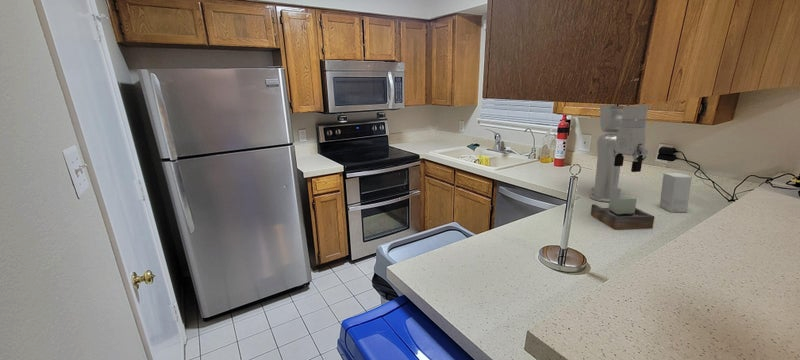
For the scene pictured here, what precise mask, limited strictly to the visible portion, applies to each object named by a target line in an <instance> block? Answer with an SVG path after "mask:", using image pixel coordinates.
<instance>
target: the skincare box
mask: <svg viewBox="0 0 800 360" xmlns="http://www.w3.org/2000/svg"><path fill="white" fill-rule="evenodd" d="M692 178H693V177H692V176H690V175H688V174H684V173H681V172H664V173H663V175H662V182H661V183H662V185H661V191H660V198H659V199H660V200H659V207H660V208H662V209H664V210H666V211H667V212H670V213H687V212H688V206H689V201H690V200H689V199H690V193H691V187H692V186H691V184H692Z"/></svg>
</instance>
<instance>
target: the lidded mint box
mask: <svg viewBox="0 0 800 360" xmlns="http://www.w3.org/2000/svg"><path fill="white" fill-rule="evenodd" d="M621 192H622V189H621V188H619V187H618V188H617V187H615V186H612V192H611V196H610V201H609V202H608V208H609V209H608V210H609V212H611V213H615V215H616V216H618V217H619V216H621V215H622V214H627V215H629V216H633V215H634V213H635V208H637V207H636V205H637V198H636V197H634V196H631V195H629V194H621Z"/></svg>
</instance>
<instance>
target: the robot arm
mask: <svg viewBox="0 0 800 360" xmlns="http://www.w3.org/2000/svg"><path fill="white" fill-rule="evenodd" d="M648 109H649V104H648V105H639V106H617V105H599V113H600V117H599V119H600V122H599V123H600V129H601V132H604V133H605V134H602V135H600V136H599V137H598V138H597V142H596V146H597V147H596V148H597V149H596V150H597V160H596V169H595V170H596V171H595V179H594V186H593V187H591V190H592V191H593V192H592V193H590V194H589V198H590V199H592V200H594V201H597V202H603V203H604V202H605V203H609V201H610V196H611V192H612V186H615V187H617V188H619V182H620V173H621V167H623V165H624V158H625V156H629V157H632V160H633V161H632V162H631V169H630V170H631V171H630V172H631V173H638V172H639V173H641V171H642V164H643V162H644V160H645V159H646V158H647V155H648V154H649V150H648V149H647V148H646V147H645V144H646V124H647V116H648Z"/></svg>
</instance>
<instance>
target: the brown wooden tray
mask: <svg viewBox="0 0 800 360" xmlns="http://www.w3.org/2000/svg"><path fill="white" fill-rule="evenodd" d="M608 209H609V207H601V206H599V205H598V204H595V203H593V204H591V211H590V216H592V217H593V218H595V219H597V220H598V221H600V222H601V223H603V224H604V225H607V226H608V227H610V228H612V229H614V230H615V231H619V230H620V231H621V230H622V231H623V230H642V229H643V230H644V229H647V230H648V229H649V230H650V229H653V228H654V222H655V215H653V214H650V213H648V212H646V211H644V210H641V209H639V208H637V207H635V213H634V215H633V216H629V215H627V214H622V215H621V216H619V217H618V216H616V215H615V213H611V212H609V210H608Z"/></svg>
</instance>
